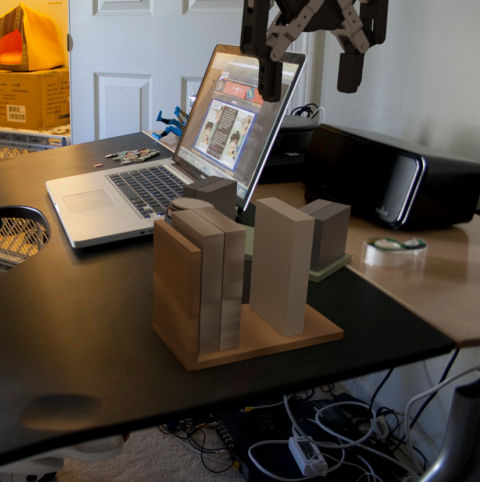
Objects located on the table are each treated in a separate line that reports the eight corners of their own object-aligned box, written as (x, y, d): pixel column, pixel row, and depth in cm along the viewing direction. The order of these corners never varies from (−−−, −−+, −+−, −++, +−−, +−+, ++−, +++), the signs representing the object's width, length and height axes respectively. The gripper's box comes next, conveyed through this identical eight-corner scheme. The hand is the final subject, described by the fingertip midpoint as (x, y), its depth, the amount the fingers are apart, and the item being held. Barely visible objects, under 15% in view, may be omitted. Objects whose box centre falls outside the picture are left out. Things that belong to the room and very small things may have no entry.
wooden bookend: (293, 301, 75) (304, 189, 70) (343, 339, 67) (359, 215, 62) (152, 329, 71) (153, 211, 66) (188, 372, 63) (191, 241, 58)
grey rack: (351, 261, 85) (359, 205, 82) (317, 283, 80) (324, 223, 77) (211, 221, 101) (213, 173, 98) (174, 237, 96) (175, 186, 93)
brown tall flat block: (265, 303, 73) (274, 196, 68) (303, 333, 67) (315, 218, 62) (248, 307, 73) (256, 199, 68) (284, 337, 66) (295, 221, 61)
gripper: (363, -88, 61) (345, 85, 67) (230, -84, 57) (223, 98, 63) (424, -98, 54) (398, 95, 60) (278, -95, 50) (265, 110, 56)
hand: (309, 96), depth 61 cm, fingers open, 8 cm apart
